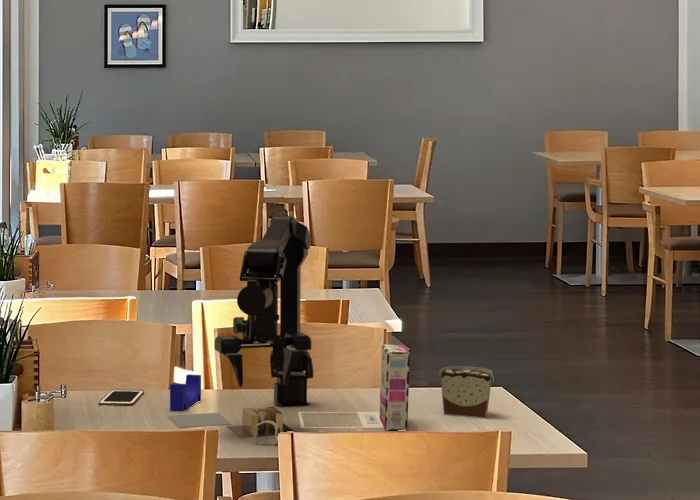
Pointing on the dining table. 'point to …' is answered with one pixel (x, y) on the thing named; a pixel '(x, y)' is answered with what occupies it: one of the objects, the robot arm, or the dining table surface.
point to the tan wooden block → (252, 418)
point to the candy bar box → (394, 387)
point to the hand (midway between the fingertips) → (262, 385)
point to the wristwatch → (262, 423)
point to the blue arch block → (185, 393)
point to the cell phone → (121, 397)
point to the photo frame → (366, 418)
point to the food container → (465, 391)
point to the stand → (261, 428)
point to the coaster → (198, 420)
